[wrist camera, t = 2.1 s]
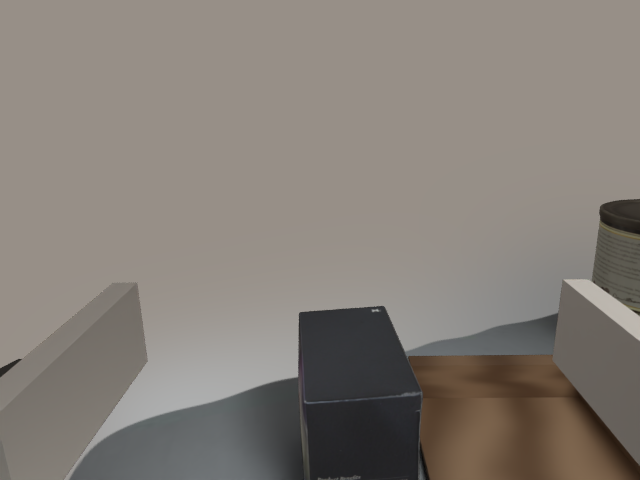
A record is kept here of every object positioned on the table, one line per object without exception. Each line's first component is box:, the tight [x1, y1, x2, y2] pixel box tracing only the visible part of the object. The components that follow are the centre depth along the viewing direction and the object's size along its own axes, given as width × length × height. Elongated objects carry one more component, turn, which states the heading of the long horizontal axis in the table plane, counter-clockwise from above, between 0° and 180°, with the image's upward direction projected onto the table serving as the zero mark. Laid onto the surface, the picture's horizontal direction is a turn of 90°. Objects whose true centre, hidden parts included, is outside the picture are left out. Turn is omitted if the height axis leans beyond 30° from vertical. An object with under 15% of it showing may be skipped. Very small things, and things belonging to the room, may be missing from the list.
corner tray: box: [408, 355, 640, 480], centre depth 33 cm, size 15×16×4 cm
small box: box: [298, 306, 423, 480], centre depth 31 cm, size 11×6×10 cm, turn 4°
